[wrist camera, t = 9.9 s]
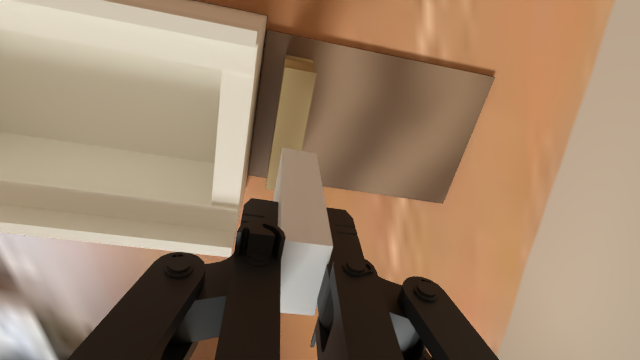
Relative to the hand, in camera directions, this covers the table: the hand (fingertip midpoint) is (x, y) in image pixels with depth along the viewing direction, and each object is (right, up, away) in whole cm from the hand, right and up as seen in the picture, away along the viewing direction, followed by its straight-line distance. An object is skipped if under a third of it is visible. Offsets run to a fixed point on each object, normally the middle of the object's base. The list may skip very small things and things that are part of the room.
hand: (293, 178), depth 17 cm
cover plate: (+4, +4, +8) cm, 10 cm away
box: (-11, +5, +5) cm, 13 cm away
